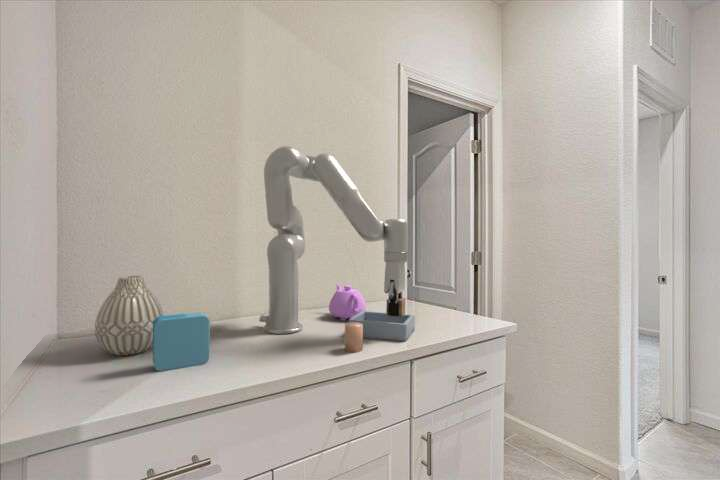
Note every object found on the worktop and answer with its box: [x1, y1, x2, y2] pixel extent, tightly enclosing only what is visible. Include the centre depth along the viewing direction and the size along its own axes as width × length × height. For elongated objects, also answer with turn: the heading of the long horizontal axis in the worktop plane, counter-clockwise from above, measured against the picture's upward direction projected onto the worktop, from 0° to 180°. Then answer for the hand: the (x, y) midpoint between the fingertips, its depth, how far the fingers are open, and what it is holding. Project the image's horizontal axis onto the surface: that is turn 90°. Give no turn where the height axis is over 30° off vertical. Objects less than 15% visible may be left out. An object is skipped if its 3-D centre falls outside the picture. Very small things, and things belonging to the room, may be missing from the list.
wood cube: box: [385, 297, 406, 317], centre depth 121 cm, size 5×5×5 cm
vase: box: [94, 275, 165, 356], centre depth 101 cm, size 16×16×20 cm
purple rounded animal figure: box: [328, 282, 367, 322], centre depth 145 cm, size 20×14×12 cm
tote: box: [348, 310, 416, 342], centre depth 123 cm, size 18×14×5 cm
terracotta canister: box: [344, 322, 364, 353], centre depth 105 cm, size 5×5×7 cm
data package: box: [152, 311, 211, 372], centre depth 91 cm, size 12×4×12 cm, turn 122°
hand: (395, 313), depth 121 cm, fingers closed on wood cube, 5 cm apart
